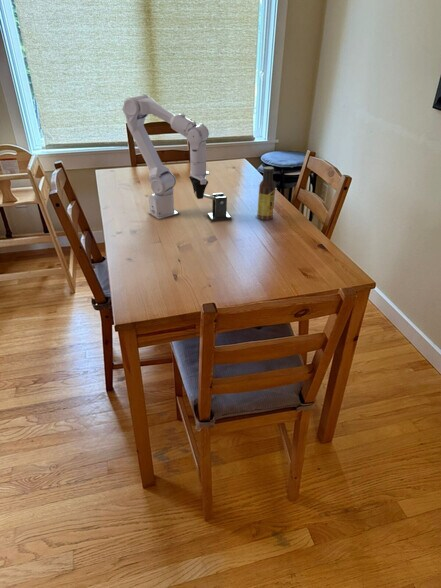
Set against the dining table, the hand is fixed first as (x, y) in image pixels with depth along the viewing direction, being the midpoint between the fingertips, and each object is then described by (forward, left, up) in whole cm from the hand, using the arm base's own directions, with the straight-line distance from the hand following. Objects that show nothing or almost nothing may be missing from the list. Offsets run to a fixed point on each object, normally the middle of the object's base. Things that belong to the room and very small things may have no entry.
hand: (198, 196), depth 155 cm
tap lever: (+3, -1, -2) cm, 4 cm away
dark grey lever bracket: (+8, -3, -10) cm, 13 cm away
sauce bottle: (+23, -13, -10) cm, 28 cm away
